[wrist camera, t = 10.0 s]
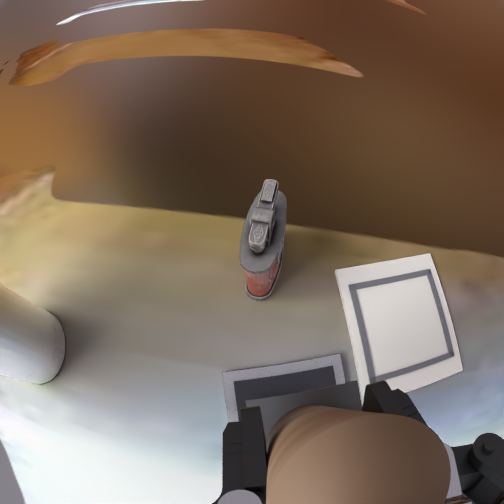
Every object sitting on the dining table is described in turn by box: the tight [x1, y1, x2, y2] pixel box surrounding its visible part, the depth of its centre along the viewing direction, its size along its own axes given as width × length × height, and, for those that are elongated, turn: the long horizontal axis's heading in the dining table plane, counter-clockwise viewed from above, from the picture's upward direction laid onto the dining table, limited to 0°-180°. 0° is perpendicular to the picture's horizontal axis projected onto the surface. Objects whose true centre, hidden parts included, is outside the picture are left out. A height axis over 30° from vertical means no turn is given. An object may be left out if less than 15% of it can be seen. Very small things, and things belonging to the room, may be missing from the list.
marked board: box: [335, 253, 463, 405], centre depth 27 cm, size 12×14×1 cm
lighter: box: [240, 179, 287, 301], centre depth 27 cm, size 8×3×10 cm, turn 167°
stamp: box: [246, 381, 451, 504], centre depth 9 cm, size 6×6×11 cm
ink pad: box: [222, 354, 345, 422], centre depth 24 cm, size 11×11×1 cm
